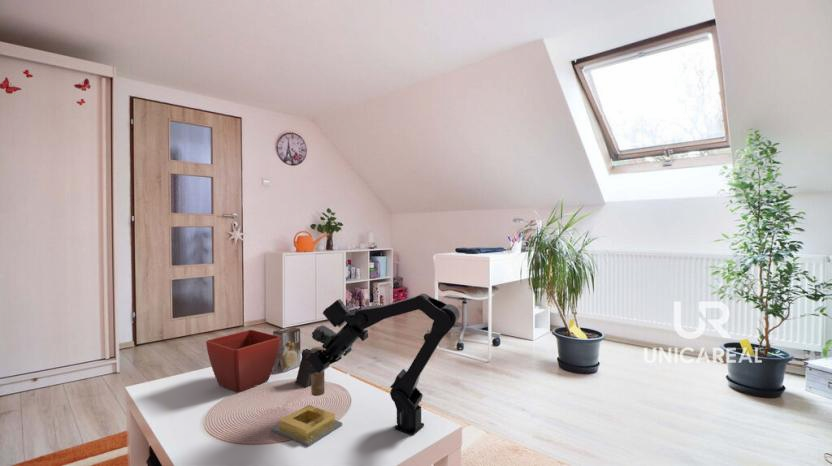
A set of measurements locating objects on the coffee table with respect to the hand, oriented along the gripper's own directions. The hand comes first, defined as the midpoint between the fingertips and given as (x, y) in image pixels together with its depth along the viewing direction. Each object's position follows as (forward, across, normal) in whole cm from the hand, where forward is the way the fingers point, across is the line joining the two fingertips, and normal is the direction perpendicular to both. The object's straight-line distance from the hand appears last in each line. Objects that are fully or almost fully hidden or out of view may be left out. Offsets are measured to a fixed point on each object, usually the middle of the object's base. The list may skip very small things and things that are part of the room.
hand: (313, 370), depth 121 cm
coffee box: (+32, -31, -13) cm, 46 cm away
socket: (+7, +9, +12) cm, 16 cm away
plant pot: (+36, -12, -17) cm, 42 cm away
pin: (+4, 0, +6) cm, 7 cm away
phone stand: (+20, -21, -1) cm, 29 cm away
